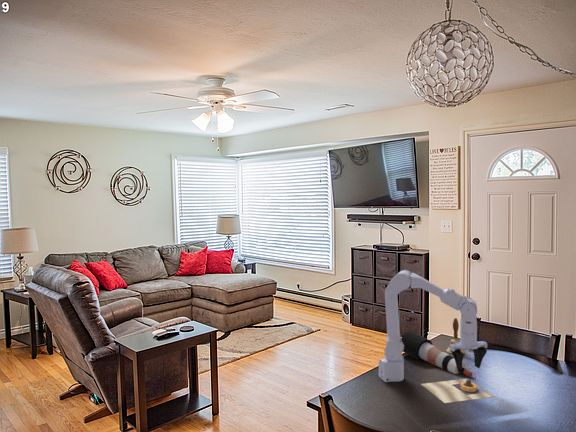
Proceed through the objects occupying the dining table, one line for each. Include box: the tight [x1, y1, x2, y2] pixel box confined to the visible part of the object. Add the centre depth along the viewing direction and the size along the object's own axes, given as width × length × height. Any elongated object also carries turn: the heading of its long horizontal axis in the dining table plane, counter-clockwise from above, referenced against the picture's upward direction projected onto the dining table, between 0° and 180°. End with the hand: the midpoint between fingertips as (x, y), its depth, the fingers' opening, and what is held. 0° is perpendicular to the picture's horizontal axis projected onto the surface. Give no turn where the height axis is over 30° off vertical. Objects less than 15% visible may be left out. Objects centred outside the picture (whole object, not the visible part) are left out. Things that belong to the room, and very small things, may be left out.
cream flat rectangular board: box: [420, 378, 495, 404], centre depth 161 cm, size 20×16×4 cm
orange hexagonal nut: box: [459, 382, 478, 393], centre depth 162 cm, size 5×5×3 cm
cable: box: [401, 330, 473, 378], centre depth 186 cm, size 10×34×10 cm, turn 30°
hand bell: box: [445, 318, 466, 355], centre depth 203 cm, size 8×8×16 cm
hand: (468, 368), depth 162 cm, fingers open, 7 cm apart
